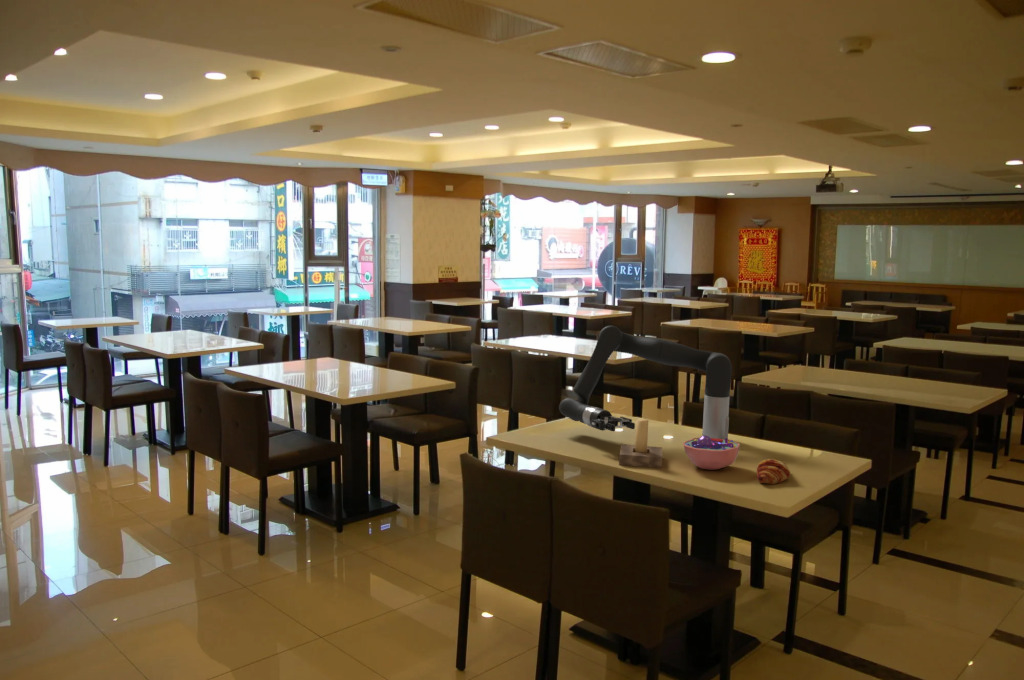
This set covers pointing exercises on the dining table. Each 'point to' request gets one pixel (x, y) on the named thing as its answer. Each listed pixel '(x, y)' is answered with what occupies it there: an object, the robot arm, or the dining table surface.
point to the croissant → (772, 471)
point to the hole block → (640, 456)
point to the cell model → (711, 452)
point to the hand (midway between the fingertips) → (624, 427)
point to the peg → (641, 436)
